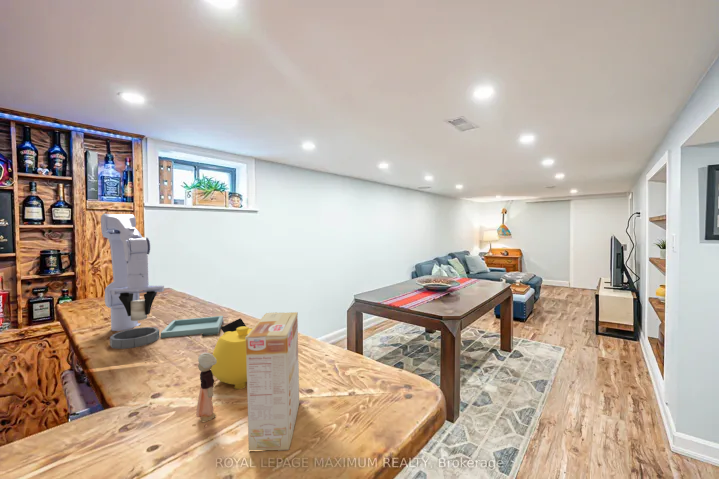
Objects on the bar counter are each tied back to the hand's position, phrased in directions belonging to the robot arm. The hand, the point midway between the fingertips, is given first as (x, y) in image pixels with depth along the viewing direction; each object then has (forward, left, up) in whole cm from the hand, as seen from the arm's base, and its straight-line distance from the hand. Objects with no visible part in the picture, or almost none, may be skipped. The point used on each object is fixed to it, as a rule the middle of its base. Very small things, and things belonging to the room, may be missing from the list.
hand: (139, 314), depth 103 cm
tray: (-8, +15, -9) cm, 20 cm away
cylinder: (0, 0, -1) cm, 1 cm away
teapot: (+40, +35, -10) cm, 54 cm away
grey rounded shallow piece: (+1, -1, -9) cm, 9 cm away
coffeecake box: (+61, +41, -10) cm, 74 cm away
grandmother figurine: (+54, +28, -10) cm, 61 cm away
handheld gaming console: (+7, +33, -10) cm, 35 cm away
